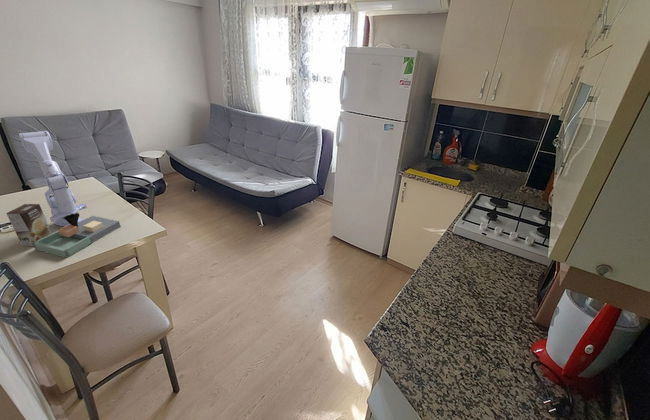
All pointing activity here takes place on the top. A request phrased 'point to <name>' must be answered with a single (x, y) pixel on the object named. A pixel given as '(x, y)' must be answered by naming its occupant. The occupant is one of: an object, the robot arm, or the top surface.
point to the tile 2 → (93, 226)
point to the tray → (61, 244)
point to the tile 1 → (68, 230)
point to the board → (107, 228)
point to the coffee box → (29, 223)
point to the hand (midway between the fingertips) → (75, 228)
